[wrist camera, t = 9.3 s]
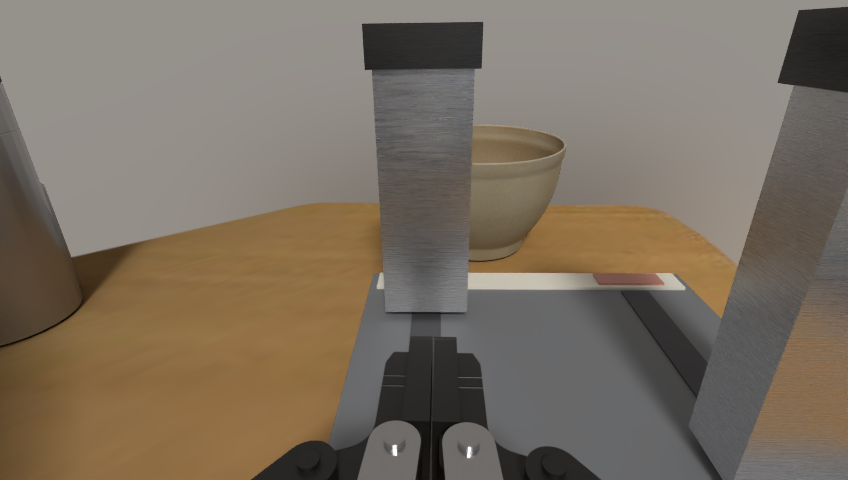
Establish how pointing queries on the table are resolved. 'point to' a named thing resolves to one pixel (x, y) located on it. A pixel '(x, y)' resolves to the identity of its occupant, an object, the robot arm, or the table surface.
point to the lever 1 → (424, 158)
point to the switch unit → (562, 367)
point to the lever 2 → (790, 288)
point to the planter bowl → (509, 186)
